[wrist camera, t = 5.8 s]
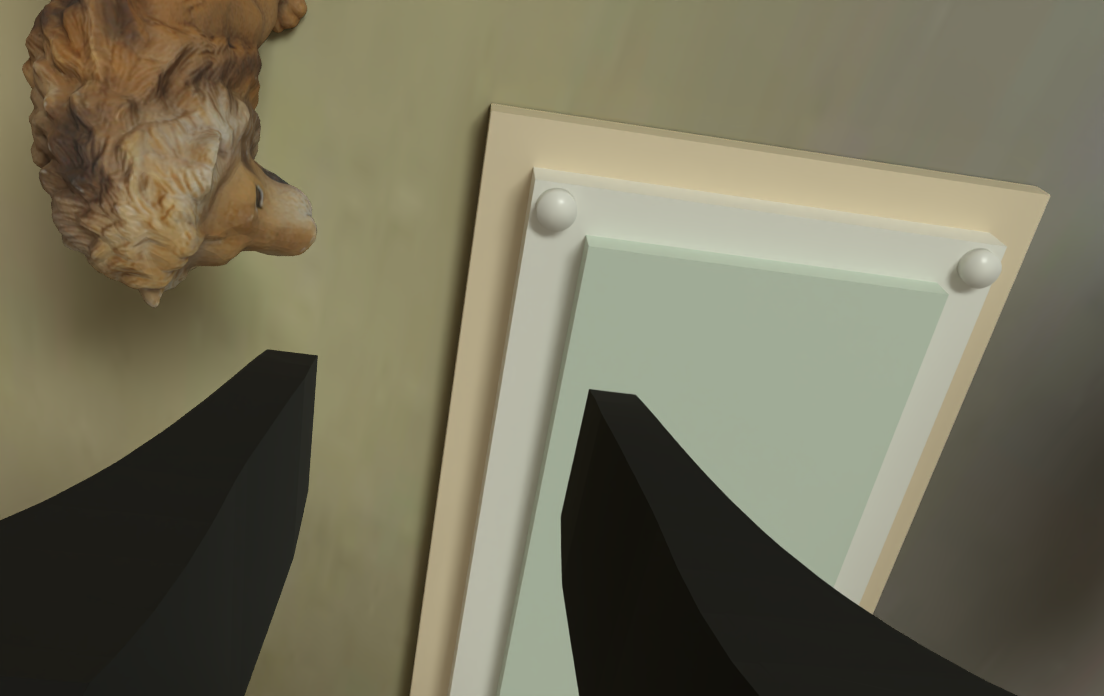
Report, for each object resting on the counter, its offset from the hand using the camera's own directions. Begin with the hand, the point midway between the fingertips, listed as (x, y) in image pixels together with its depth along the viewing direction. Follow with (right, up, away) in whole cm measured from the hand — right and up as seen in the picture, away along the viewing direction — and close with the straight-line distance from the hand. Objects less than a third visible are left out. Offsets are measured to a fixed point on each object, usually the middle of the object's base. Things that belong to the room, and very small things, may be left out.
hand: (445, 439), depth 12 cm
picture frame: (+4, -2, +12) cm, 13 cm away
